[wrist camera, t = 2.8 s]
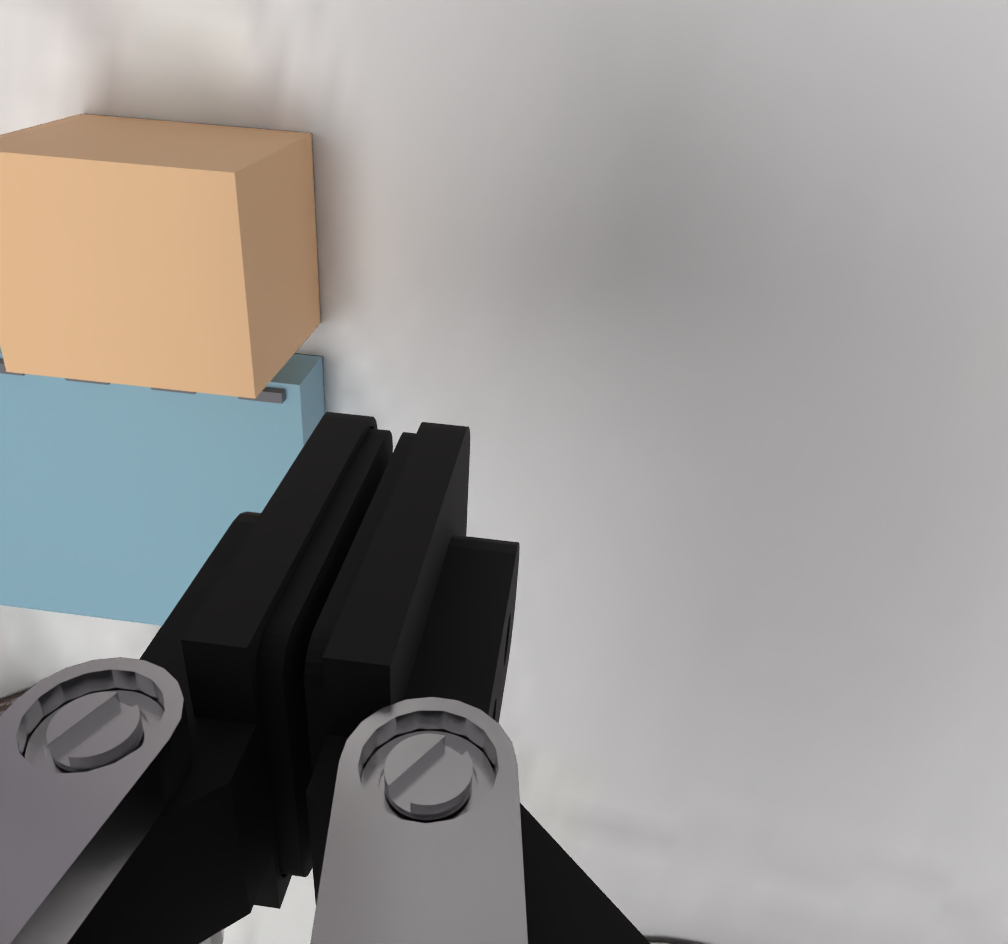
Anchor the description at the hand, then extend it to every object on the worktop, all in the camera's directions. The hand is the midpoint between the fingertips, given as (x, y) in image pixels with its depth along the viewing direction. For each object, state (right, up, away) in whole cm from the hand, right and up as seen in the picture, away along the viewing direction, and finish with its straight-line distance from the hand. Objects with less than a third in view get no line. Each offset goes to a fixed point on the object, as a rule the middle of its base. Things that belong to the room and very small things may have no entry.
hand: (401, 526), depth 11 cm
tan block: (-7, +7, +13) cm, 16 cm away
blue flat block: (-11, +1, +17) cm, 20 cm away
